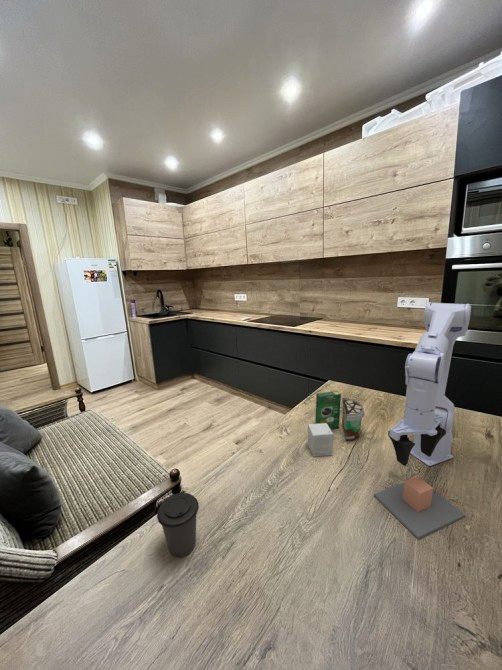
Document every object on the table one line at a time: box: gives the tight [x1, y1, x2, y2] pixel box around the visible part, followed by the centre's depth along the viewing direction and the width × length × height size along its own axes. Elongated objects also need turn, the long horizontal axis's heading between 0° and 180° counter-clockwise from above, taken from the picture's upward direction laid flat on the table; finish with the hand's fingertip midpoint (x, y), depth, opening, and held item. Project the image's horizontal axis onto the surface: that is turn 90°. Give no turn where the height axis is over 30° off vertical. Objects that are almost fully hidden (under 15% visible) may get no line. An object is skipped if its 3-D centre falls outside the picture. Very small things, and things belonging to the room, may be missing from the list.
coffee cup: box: [156, 492, 200, 559], centre depth 56 cm, size 8×8×10 cm
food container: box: [341, 397, 366, 442], centre depth 92 cm, size 12×6×10 cm, turn 168°
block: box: [403, 475, 434, 512], centre depth 64 cm, size 4×4×5 cm
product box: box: [307, 423, 334, 457], centre depth 84 cm, size 6×6×7 cm
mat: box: [373, 482, 466, 540], centre depth 64 cm, size 14×12×1 cm
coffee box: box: [314, 390, 342, 430], centre depth 95 cm, size 8×3×13 cm, turn 103°
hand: (414, 458), depth 65 cm, fingers open, 7 cm apart
